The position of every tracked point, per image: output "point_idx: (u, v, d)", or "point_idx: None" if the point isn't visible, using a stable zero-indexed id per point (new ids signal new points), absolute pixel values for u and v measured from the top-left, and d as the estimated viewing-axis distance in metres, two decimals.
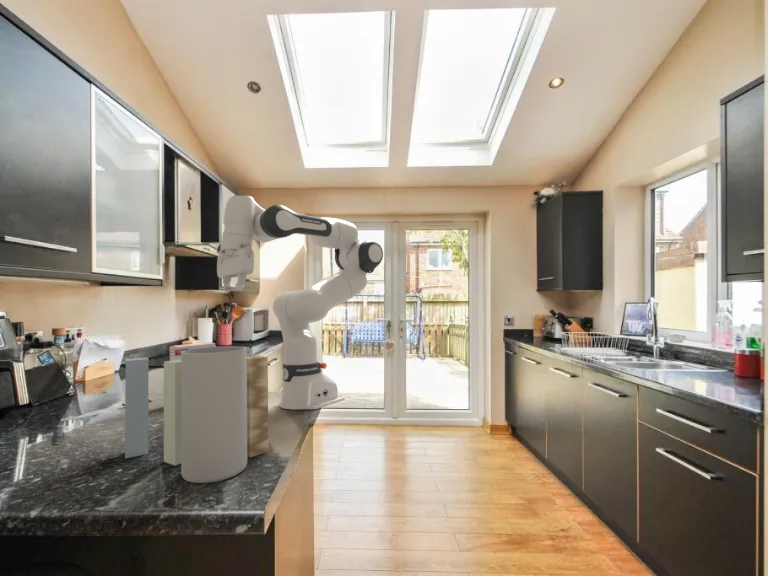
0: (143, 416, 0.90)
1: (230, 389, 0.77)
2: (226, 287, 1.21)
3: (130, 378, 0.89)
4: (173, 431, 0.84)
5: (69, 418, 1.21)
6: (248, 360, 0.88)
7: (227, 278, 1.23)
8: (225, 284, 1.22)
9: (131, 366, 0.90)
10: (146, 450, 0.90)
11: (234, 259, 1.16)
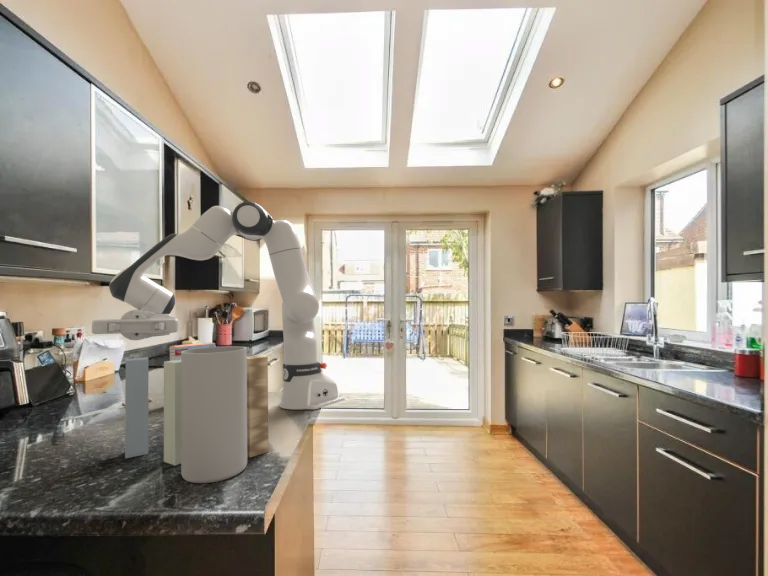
0: (143, 416, 0.90)
1: (230, 389, 0.77)
2: (154, 328, 1.05)
3: (130, 378, 0.89)
4: (173, 431, 0.84)
5: (69, 418, 1.22)
6: (248, 360, 0.88)
7: None
8: None
9: (131, 366, 0.90)
10: (146, 450, 0.90)
11: None
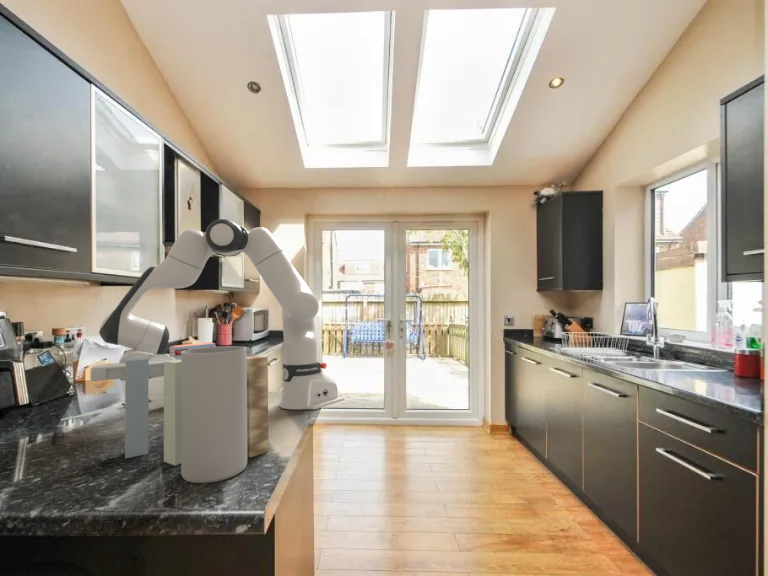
0: (143, 416, 0.90)
1: (230, 389, 0.77)
2: None
3: (130, 378, 0.89)
4: (173, 431, 0.84)
5: None
6: (248, 360, 0.88)
7: None
8: None
9: (131, 366, 0.90)
10: (146, 450, 0.90)
11: None
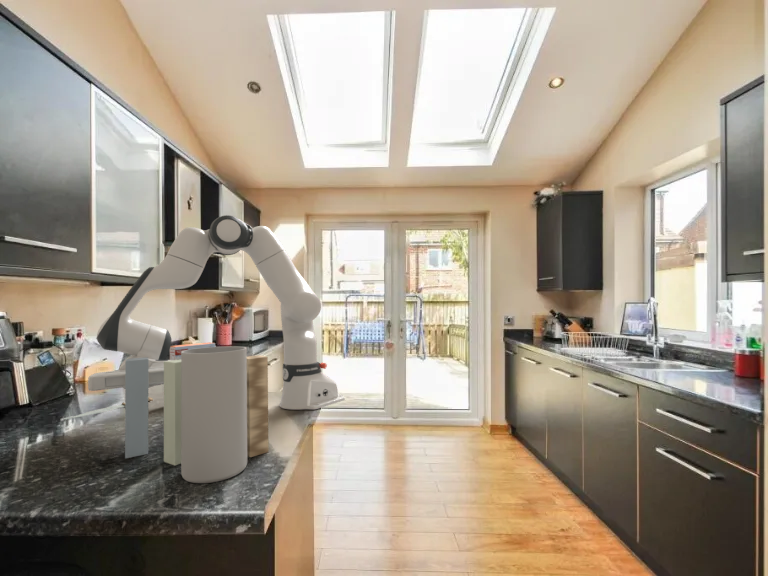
0: (143, 416, 0.90)
1: (230, 389, 0.77)
2: None
3: (130, 378, 0.89)
4: (173, 431, 0.84)
5: (68, 417, 1.22)
6: (248, 360, 0.88)
7: None
8: None
9: (131, 366, 0.90)
10: (146, 450, 0.90)
11: None
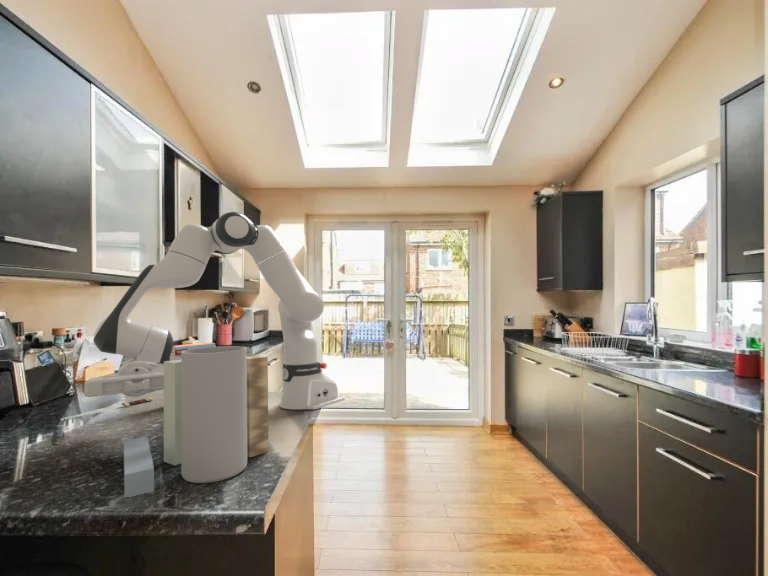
0: None
1: (230, 389, 0.77)
2: None
3: None
4: (173, 431, 0.84)
5: (68, 417, 1.23)
6: (248, 360, 0.88)
7: None
8: None
9: None
10: None
11: None
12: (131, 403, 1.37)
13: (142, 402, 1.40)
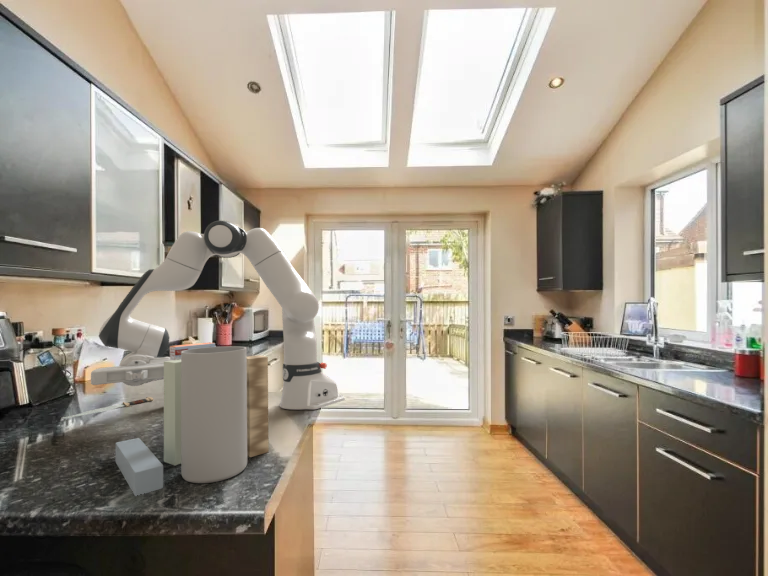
0: None
1: (230, 389, 0.77)
2: None
3: None
4: (173, 431, 0.84)
5: (68, 416, 1.24)
6: (248, 360, 0.88)
7: None
8: None
9: None
10: None
11: None
12: (131, 403, 1.37)
13: (142, 402, 1.40)
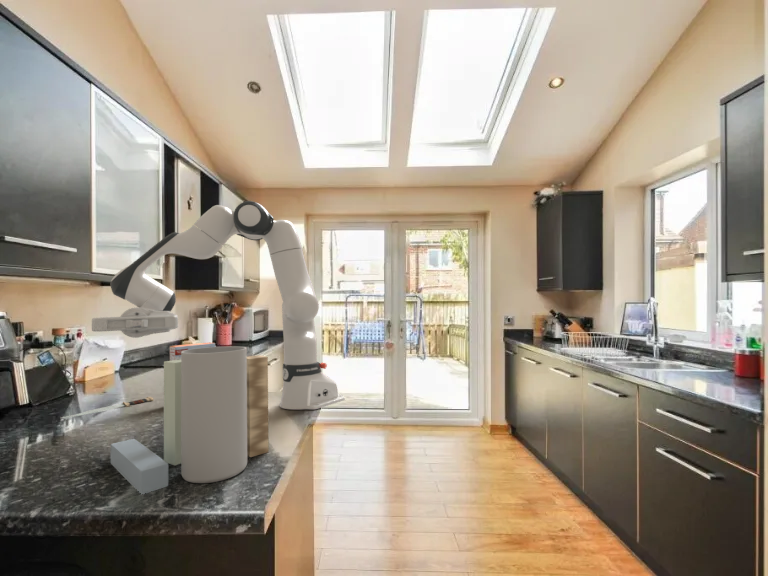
0: None
1: (230, 389, 0.77)
2: None
3: None
4: (173, 431, 0.84)
5: (68, 416, 1.24)
6: (248, 360, 0.88)
7: None
8: None
9: None
10: None
11: None
12: (131, 403, 1.37)
13: (142, 402, 1.40)
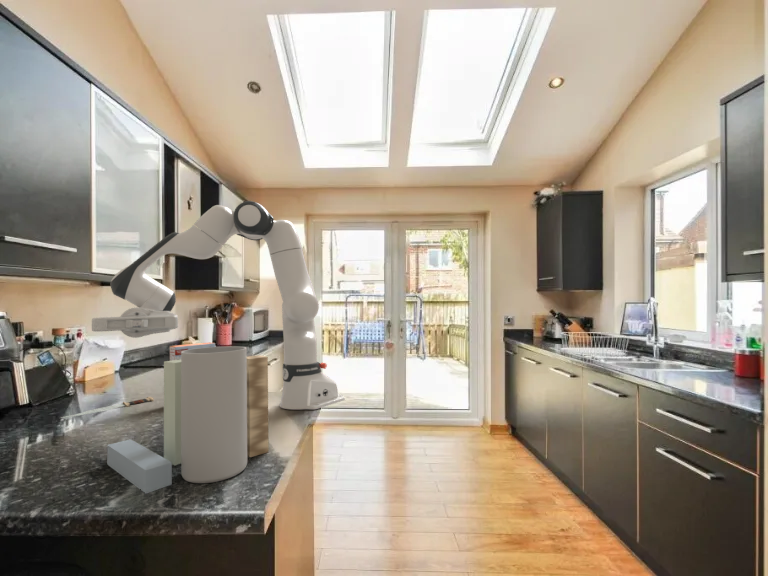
0: None
1: (230, 389, 0.77)
2: None
3: None
4: (173, 431, 0.84)
5: (68, 416, 1.24)
6: (248, 360, 0.88)
7: None
8: None
9: None
10: None
11: None
12: (131, 403, 1.38)
13: (142, 402, 1.40)
